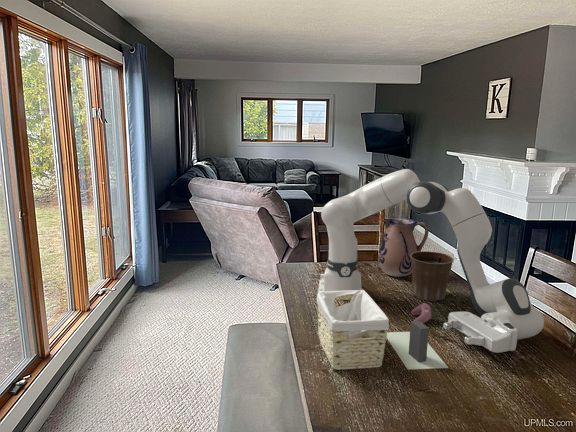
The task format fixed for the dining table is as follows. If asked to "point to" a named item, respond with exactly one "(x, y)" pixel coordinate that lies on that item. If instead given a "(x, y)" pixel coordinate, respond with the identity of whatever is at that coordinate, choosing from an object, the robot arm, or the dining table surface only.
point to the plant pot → (430, 274)
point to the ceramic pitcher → (399, 246)
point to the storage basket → (351, 329)
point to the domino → (418, 341)
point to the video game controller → (422, 313)
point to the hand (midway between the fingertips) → (455, 333)
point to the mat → (402, 349)
